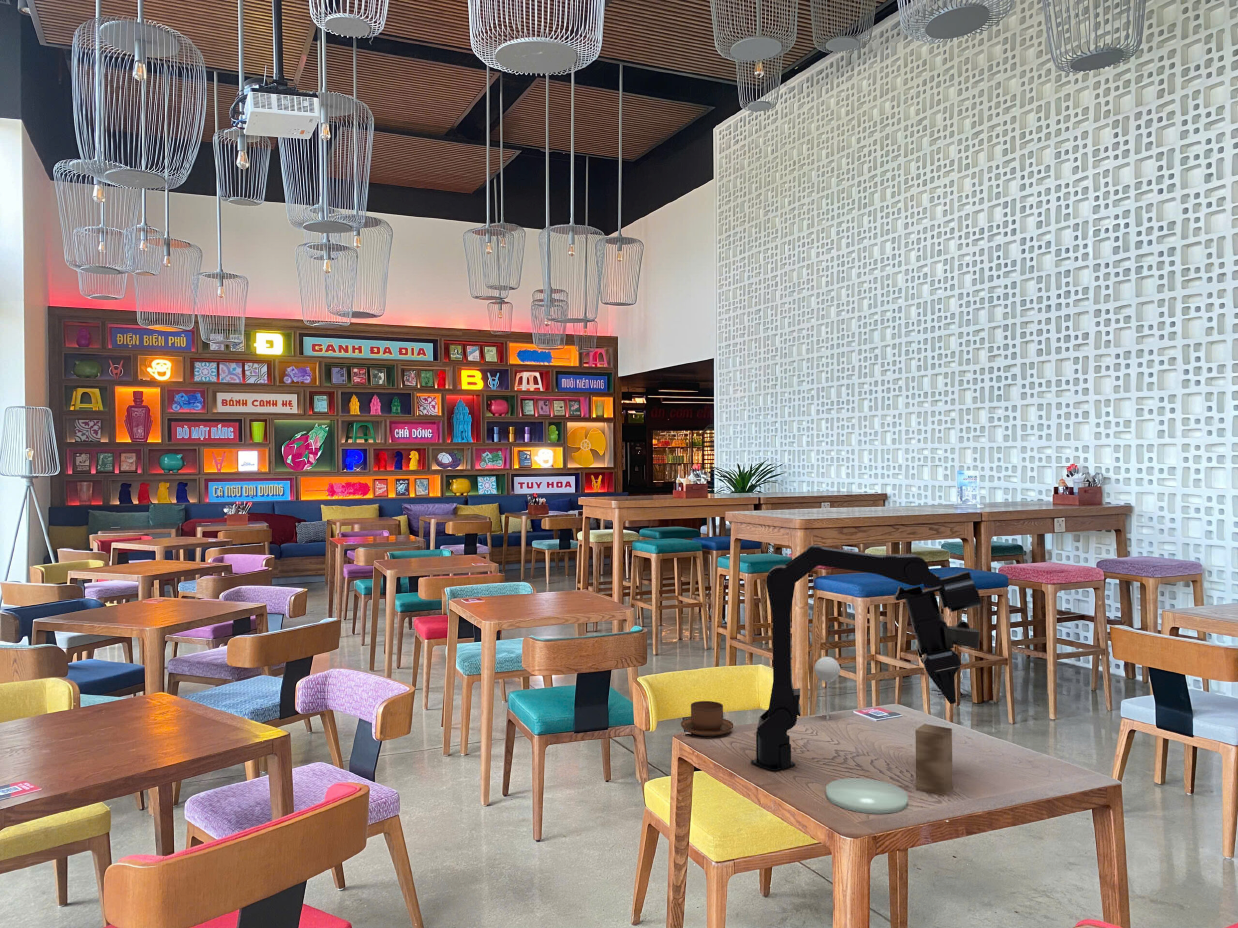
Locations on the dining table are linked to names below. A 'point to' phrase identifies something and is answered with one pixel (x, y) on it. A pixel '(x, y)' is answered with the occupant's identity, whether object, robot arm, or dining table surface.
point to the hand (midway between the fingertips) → (950, 697)
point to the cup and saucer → (707, 719)
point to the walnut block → (934, 759)
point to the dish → (867, 795)
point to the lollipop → (827, 673)
